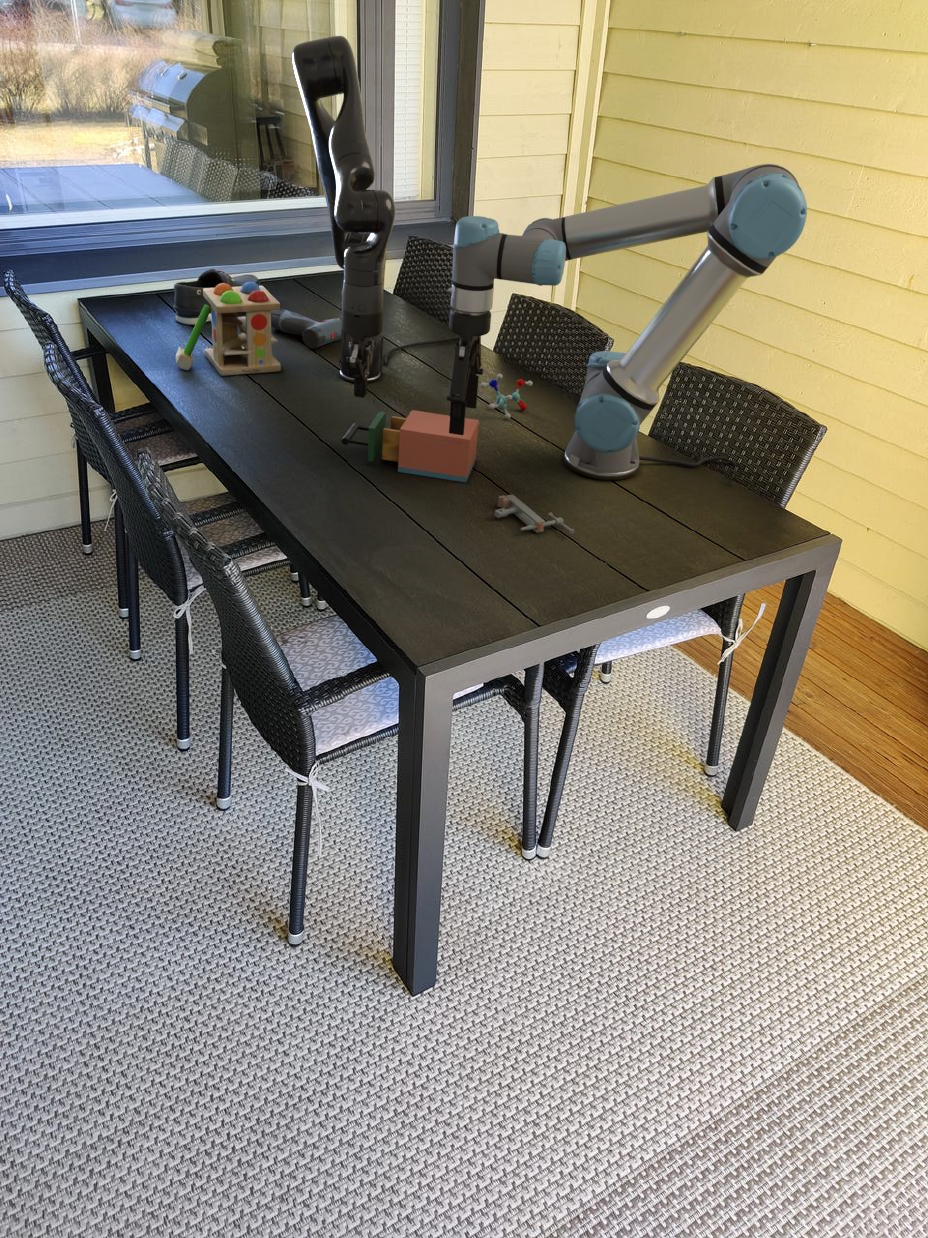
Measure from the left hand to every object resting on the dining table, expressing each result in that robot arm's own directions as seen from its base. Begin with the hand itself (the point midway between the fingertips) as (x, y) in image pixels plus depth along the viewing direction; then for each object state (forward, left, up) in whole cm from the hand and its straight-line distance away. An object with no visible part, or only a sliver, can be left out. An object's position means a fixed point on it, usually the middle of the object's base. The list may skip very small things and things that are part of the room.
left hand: (360, 395), depth 190 cm
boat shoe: (-46, -83, -12) cm, 96 cm away
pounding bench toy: (-17, -53, -12) cm, 57 cm away
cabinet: (-6, +15, -12) cm, 20 cm away
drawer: (-3, +6, -11) cm, 13 cm away
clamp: (+2, +41, -12) cm, 42 cm away
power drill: (-49, -54, -12) cm, 73 cm away
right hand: (-8, +19, -2) cm, 20 cm away
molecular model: (-40, +10, -12) cm, 43 cm away
